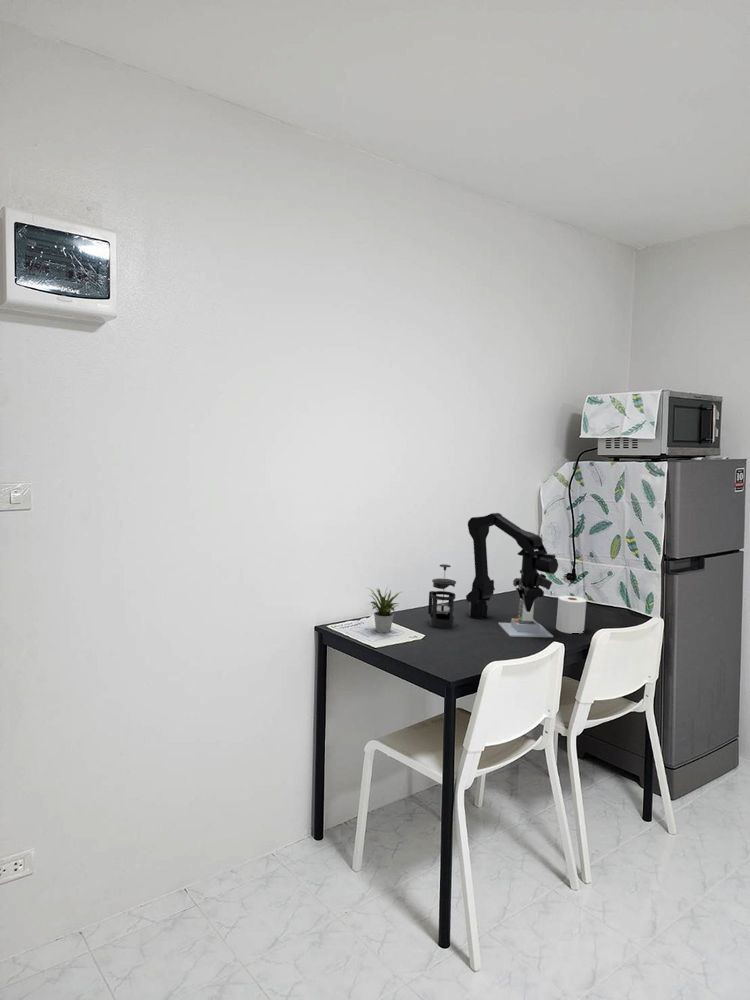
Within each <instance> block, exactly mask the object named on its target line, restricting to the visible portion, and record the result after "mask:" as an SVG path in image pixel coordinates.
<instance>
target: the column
mask: <svg viewBox="0 0 750 1000" xmlns="http://www.w3.org/2000/svg"><path fill="white" fill-rule="evenodd" d="M518 602H519V603H518V609H517V610H518V612H517V619H520V620H522V621H533V619H534V611H535V610H534V608H535V602H534V603H533V605H532V608H531V610H530V612H527V610H526V607H525V603H524V599H523V598H519V600H518Z"/></svg>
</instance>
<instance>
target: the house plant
mask: <svg viewBox="0 0 750 1000" xmlns="http://www.w3.org/2000/svg"><path fill="white" fill-rule="evenodd" d="M367 589H369V590H370V591H371V594H372V595H373V596H372V595H370V594H369V596H370V597H371V598H372V599H373V600H374V601H370V602H369V604H367V605H370V606H372V609H371V610H372V611H373V610H374V609H375V610H376V611H375V612H374V613H373V615H374V624H375V631H376V630H377V631H379V632H378V633H380V632H388V633H390V632H391V629H392V624H393V619H394V616H395V614H394V612H395V608H396V607H399V605H398V604H400V603H398V602H393V601H394V599H395V598H396V597H398V595H399V594H401V593H403V591H399V592H398V593H396V594H395V595H394V596H391V593H392V590H389V593H387V589H388V586H387V587H386V589H385V591H384V596H383V595H382V594H381V593H382V592H381V590H380V588H376V592H377V594H378V596H377V595H376V593H375V591H374V590H372V589H371V588H368V587H367ZM387 594H388V595H387ZM386 598H387V599H386ZM391 611H392V612H391ZM377 631H376V632H377ZM389 631H390V632H389Z"/></svg>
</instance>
